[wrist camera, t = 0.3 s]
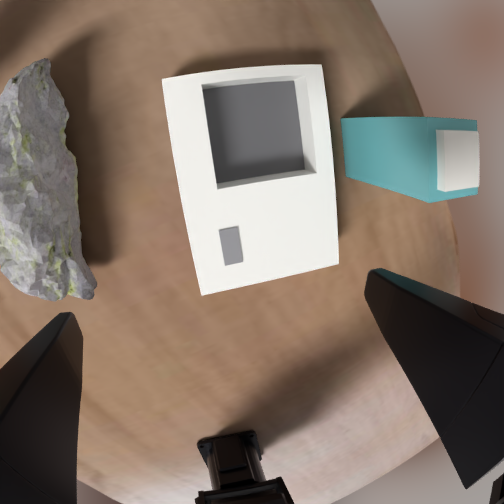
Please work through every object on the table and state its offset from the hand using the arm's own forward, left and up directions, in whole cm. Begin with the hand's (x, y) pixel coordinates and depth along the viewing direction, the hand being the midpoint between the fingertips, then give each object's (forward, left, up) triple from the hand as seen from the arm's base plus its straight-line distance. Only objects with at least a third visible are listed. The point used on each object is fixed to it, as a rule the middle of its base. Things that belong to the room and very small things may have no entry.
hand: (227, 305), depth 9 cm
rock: (+3, +11, -14) cm, 18 cm away
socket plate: (+1, -4, -14) cm, 15 cm away
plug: (+2, -14, -14) cm, 20 cm away
